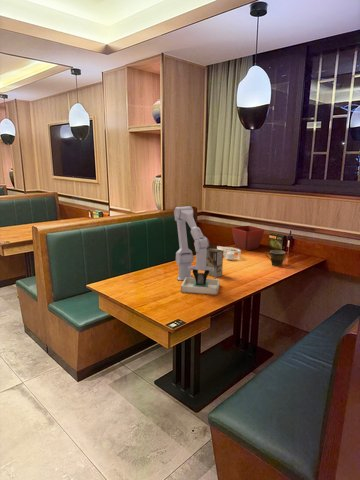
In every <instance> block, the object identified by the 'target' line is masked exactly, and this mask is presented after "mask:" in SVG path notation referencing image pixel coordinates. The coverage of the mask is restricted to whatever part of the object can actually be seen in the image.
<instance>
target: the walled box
mask: <svg viewBox="0 0 360 480" xmlns="http://www.w3.org/2000/svg"><path fill="white" fill-rule="evenodd" d="M220 282H221V280H220V278H219V279H217V278H208V277H207V278H206V283H205V284H204V286H200V285H197V283H196V280H195V277H193V276H192V277H185V279H184V280H182V282H181V285H180V293H188V294H189V293H190V294H200V295H201V294H202V295H212V296H217V295H218V294H219V289H220V284H221V283H220Z"/></svg>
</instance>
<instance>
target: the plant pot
mask: <svg viewBox="0 0 360 480" xmlns="http://www.w3.org/2000/svg"><path fill="white" fill-rule="evenodd" d="M231 231H232V237H233V242H234V245H235V247H236V249H239V250H244V251H251V250H257V249H258V248H259V247H260V245H261V241H262V239H263V236H264V233H265V228H262V227H256V226H252V225H240V226H232V227H231Z"/></svg>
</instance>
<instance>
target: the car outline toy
mask: <svg viewBox="0 0 360 480" xmlns="http://www.w3.org/2000/svg"><path fill="white" fill-rule="evenodd" d="M216 249H218V250H223V258H224V259H226V260H228V261H229V260H230V261H240V260H241V258H242V257H241V256H242V253H241V252H242V249H240V248H237V247H236V248H235V247H231V246H230V247H229V246H220V245H217V246H216ZM236 253H237V256H235V254H236ZM235 258H236V259H235Z"/></svg>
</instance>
